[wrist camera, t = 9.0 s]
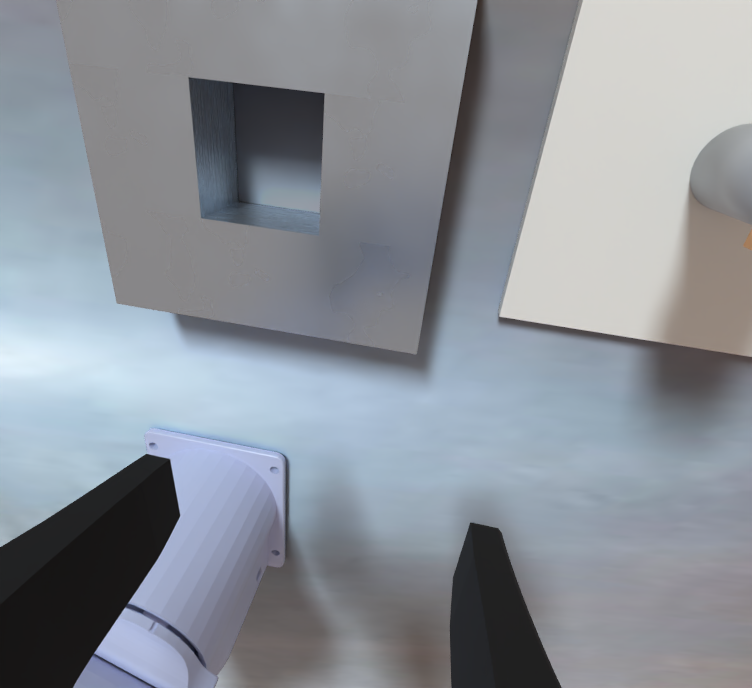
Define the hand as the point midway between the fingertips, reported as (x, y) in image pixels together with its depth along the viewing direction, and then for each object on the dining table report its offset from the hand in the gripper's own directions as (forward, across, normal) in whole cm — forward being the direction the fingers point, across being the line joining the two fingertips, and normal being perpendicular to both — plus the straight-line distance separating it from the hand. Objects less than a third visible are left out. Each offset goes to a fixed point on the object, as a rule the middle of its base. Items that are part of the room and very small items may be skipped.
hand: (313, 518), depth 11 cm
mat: (+11, -11, -8) cm, 17 cm away
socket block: (+10, +4, -6) cm, 13 cm away
